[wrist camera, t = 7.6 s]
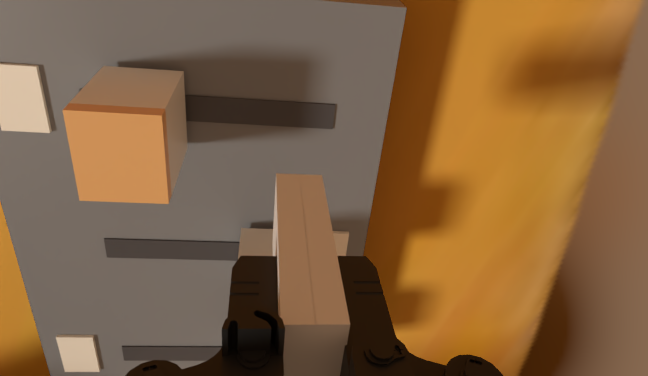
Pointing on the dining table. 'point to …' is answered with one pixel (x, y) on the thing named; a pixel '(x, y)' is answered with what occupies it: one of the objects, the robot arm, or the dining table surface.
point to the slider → (128, 135)
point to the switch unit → (199, 162)
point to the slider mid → (256, 242)
